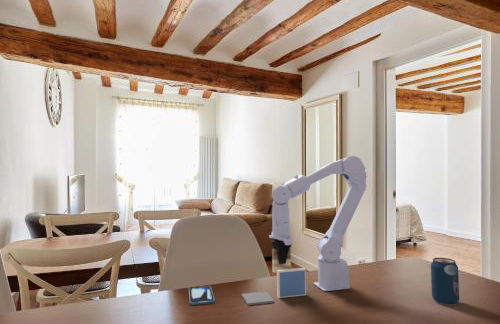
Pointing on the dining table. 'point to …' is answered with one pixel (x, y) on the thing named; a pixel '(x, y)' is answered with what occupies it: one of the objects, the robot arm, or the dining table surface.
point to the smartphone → (201, 295)
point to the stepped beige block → (275, 261)
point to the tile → (291, 282)
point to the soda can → (445, 281)
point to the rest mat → (257, 298)
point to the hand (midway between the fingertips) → (281, 262)
